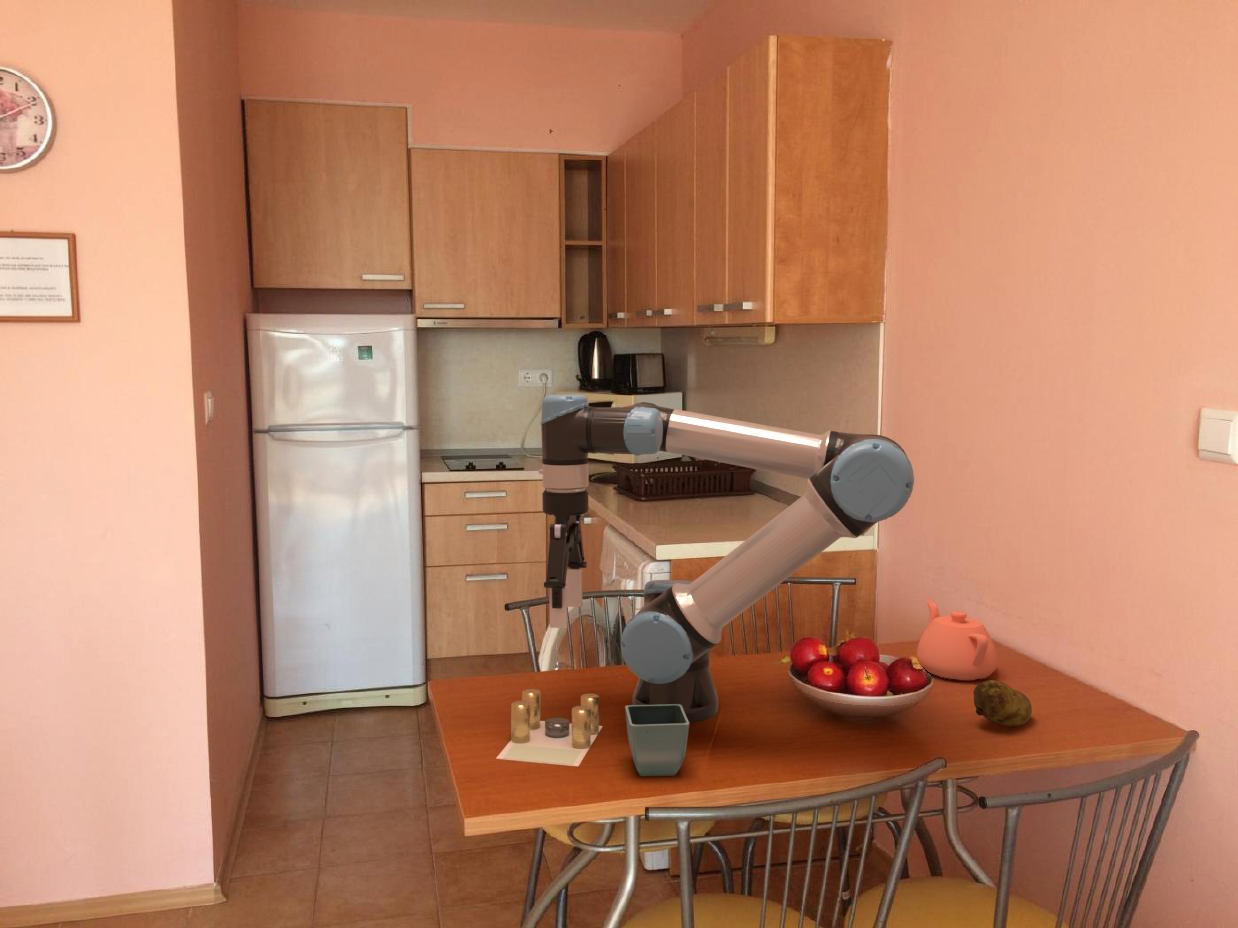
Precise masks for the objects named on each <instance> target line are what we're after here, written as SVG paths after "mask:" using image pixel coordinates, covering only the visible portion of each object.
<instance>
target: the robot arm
mask: <svg viewBox="0 0 1238 928" xmlns="http://www.w3.org/2000/svg"><path fill="white" fill-rule="evenodd" d="M588 399H589V398H588V397H587V396H586V395H585V394H573V393H572V394H565V393H564V394H562V393H561V394H550V395H546V396H545V397H544V398H543V399H542V403H541V421H540V426H541V427H540V428H541V458H542V459H541V463H542V466H541V467H542V468H539V469H538V473H539V474H540V475H542V487H543V488H544V490H543V492H542V493H541V494H542V499H541V500H542V512H543V513H544V514H546V515H549V516H554V517H555V519H554V524H550V526H549V545H548V557H547V570H546V580H545V581H544V582H543V588H544V589H545V588H546V589H547V588H548V589H549V590H548V591H549V592H548V593H549V595H548V596H549V597H548V602H549V628H550V629H551V628H556V629H567V628H568V607H569V608H582V607H583V569H586V568H587V565H588V564H587V561H585V554H584V545H583V543H584V542H583V537H582V536H583V535H582V527H581V526H582V525H581V518H582V517H581V516H582V515H584V514H587V513H588V512H589V509H590V507H589V491H588V490H587V489H586V488H588V487H589V454H596V455H597V454H608V455H610V454H613V455H615V454H616V455H634V456H637V457H638V456H642V455H655V454H656V453H658V452H664V453H670V454H671V453H672V454H676V455H677V454H678V455H681V456H682V455H683V456H688V457H691V458H697V459H702V460H708V461H714V462H718V463H723V464H729V465H734V466H738V467H745V468H749V469H754V470H760V471H764V472H770V473H775V474H780V475H785V476H790V477H796V478H802V479H805V480H807V484H806V491H805V493H804V494H803V495H801V496H800V497H799V498H798V499H796V500H795V501H794V502H792V503H791V504H790V505H789V506H788V507H787V508H785V509H784V510H782V511H781V512H779V513H778V514H777V515H776V516H775V517H774V518H772V519H771V520H769V522H767V523H766V524H765V525H763V526H762V527H761V528H760V529H758V530H757V531H756V532H755V533H753V534H752V535H751V536H749V537H748V538H747V539H746V540H745V541H743V542H742V543H740V544H739V545H738V546H737V547H736V548H734V549H732V551H730V552H729V553H728V554H727V555H724V557H722V559H720V560H719V561H717V562H716V563H715V564H714V565H713V566H711V567H710V568H709V569H707V570H706V571H705V572H704V573H702V574H701V575H700V576H698V577H697V578H696V579H694V580H693V581H690V580H678V579H654V580H650V581H647V582H646V583H645V584H644V588H643V593H642V597H643V606H642V607H641V608H640V610H638V612H637V613H636V614H635V615H634V616H633V617H631V618H630V619H628V621H627V624H625V626H624V629H623V632H622V635H621V639H620V650H621V655H622V658H623V660H624V663H625V664H626V666H627V668H628V669H629V670H630V671H631V672H632V673H633V674H634V675H635V676H636V677H637V678H638V680H637V682H636V684H635V689H634V691H633V694H632V705H666V704H680V705H682V707H683V710H684V712H685V715H686V717H687V719H688V721H689V723H696V722H697V723H698V722H701V721H705V720H708V719H710V718H713V717H714V716H715V715H716V714H718V711H719V696H718V693H717V689H716V686H715V683H714V679H713V676H712V673H711V670H710V650H712V649H713V648H714V647H715V646H716V645H718V644H719V643H720V642H721V640H722V633H723V631H722V630H723V628H724V627H725V626H726V625H728V624H729V623H730V622H732V621H734V619H736V618H737V617H738V616H740V615H741V614H742V613H744V612H745V611H746V610H748V609H749V608H751V606H753V605H755V604H756V602H758V601H759V600H760V599H762V598H763V597H765V596H766V595H767V594H769V593H771V591H772V590H774V589H775V588H777V586H779V585H780V584H782V583H783V582H784V581H786V580H787V579H788V578H790V577H791V576H792V575H794V574H795V573H796V572H797V571H799V570H801V568H803V567H804V566H805V565H806V564H808V563H809V562H810V561H812V560H813V559H815V558H816V557H817V556H818V555H820V554H821V553H822V552H824V551H825V550H826V549H828V548H829V547H830V546H832V545H833V544H834V543H835V542H837V541H838V540H839V539H841V538H850V539H857V538H859V537H860V536H861V535H863V534H864V533H866V531H868V530H869V529H870V528H872V527H874V526H875V525H876V524H877V523H878V522H882V521H884V520H888V519H889V518H892V517H894V516H895V515H897V514H898V513H899V512H900V511H901V510H902V509H903V508H904V507H905V506H906V504H907V503H908V501H909V499H910V498H911V495H912V493H913V490H914V483H915V476H914V469H913V467H912V464H911V461H910V459H909V457H908V455H907V453H906V452H905V450H904V449H903V448H902V446H901V445H900V444H899V443H898V442H896V441H895V440H893V439H892V438H890V437H887V436H885V435H881V434H869V433H868V434H867V433H852V432H850V433H849V432H848V433H847V432H843V431H841V432H840V431H836V430H835V431H834V430H831V429H830V430H827V431H825V432H824V433H822V434H817V433H811V432H805V431H800V430H794V429H789V428H782V427H778V426H774V425H773V426H771V425H765V424H762V423H756V422H755V423H754V422H749V421H744V420H739V419H732V418H727V417H721V416H716V415H711V414H705V413H699V412H694V411H688V410H682V409H677V408H670V407H666V406H661V405H660V406H659V405H657V404H656V403H653V402H646V401H641V402H636V403H634V404H631V405H627V406H620V407H619V406H617V407H616V406H615V407H610V406H609V407H608V406H607V407H597V406H589V405H590V404H589V402H588Z"/></svg>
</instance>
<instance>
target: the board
mask: <svg viewBox="0 0 1238 928" xmlns="http://www.w3.org/2000/svg"><path fill="white" fill-rule="evenodd" d="M545 721H546V720H540V728H539V729H536V730H530V741H529V742H527V743H514V742H512V741H511V740H510V741H509V742H508V743H507V744H506V745H505V747H504V748H503V749H502V750H501V751H500V753H499V754H498V755H497V756H496V758H495V759H497V760H504V761H506V760H507V761H515V762H526V763H538V764H548V765H549V764H550V765H556V766H557V765H559V766H567V767H568V766H569V767H579V766H580V765H581V763H582V761H583V759H584V758H585V756H586V754H587V753H588V751H589V750H590V748H591V746H592V745H593V742H594V741H595V740H596V738H597V737H598V735H599V733H600V732H601V730H602V728H603V725H599V733H598V734H596V735H591V746H590V747H589V748H587V749H576V748H573V747H572V722H569V735H568V736H567V737H564V738H550V737H547V736H546V735H545Z"/></svg>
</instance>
